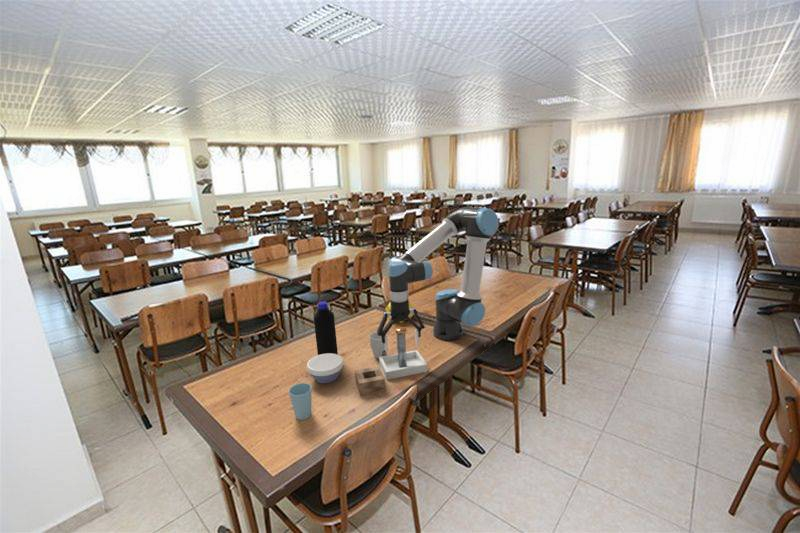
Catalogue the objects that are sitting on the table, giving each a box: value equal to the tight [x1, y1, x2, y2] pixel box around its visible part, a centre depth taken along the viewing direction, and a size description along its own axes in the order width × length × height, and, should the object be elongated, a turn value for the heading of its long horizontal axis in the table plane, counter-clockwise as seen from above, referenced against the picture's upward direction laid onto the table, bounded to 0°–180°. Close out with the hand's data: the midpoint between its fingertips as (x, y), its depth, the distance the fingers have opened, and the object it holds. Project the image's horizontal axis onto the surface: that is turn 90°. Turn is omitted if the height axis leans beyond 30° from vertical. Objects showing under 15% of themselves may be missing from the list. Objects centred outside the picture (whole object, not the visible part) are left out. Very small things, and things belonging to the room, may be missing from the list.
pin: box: [394, 326, 407, 368], centre depth 157 cm, size 5×5×17 cm
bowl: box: [306, 353, 344, 384], centre depth 154 cm, size 14×14×8 cm
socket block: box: [354, 365, 386, 396], centre depth 147 cm, size 10×10×5 cm
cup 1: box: [288, 382, 312, 421], centre depth 130 cm, size 8×8×10 cm
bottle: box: [313, 300, 339, 355], centre depth 165 cm, size 9×9×28 cm
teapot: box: [385, 300, 414, 324], centre depth 209 cm, size 20×16×14 cm
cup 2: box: [368, 331, 388, 359], centre depth 170 cm, size 8×8×10 cm
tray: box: [378, 349, 428, 380], centre depth 159 cm, size 18×14×3 cm
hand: (401, 347), depth 157 cm, fingers open, 13 cm apart
